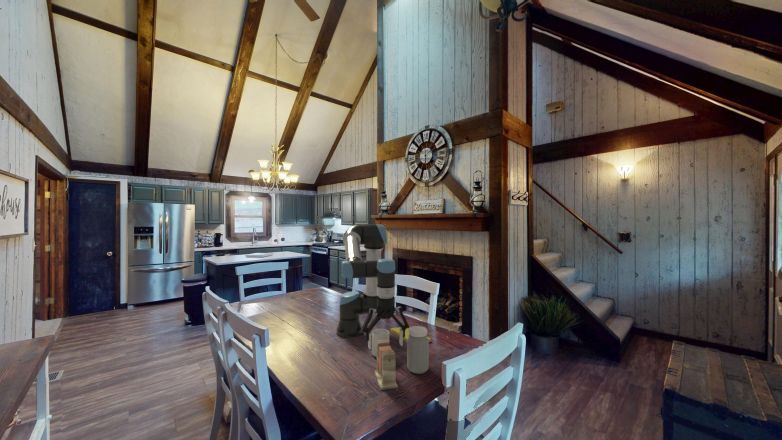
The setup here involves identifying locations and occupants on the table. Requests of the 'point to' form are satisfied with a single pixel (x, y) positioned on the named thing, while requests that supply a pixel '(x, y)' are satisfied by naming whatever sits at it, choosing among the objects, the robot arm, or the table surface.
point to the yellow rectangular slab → (396, 332)
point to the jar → (417, 350)
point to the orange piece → (381, 349)
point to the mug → (378, 338)
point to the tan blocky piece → (386, 367)
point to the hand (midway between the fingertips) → (385, 346)
